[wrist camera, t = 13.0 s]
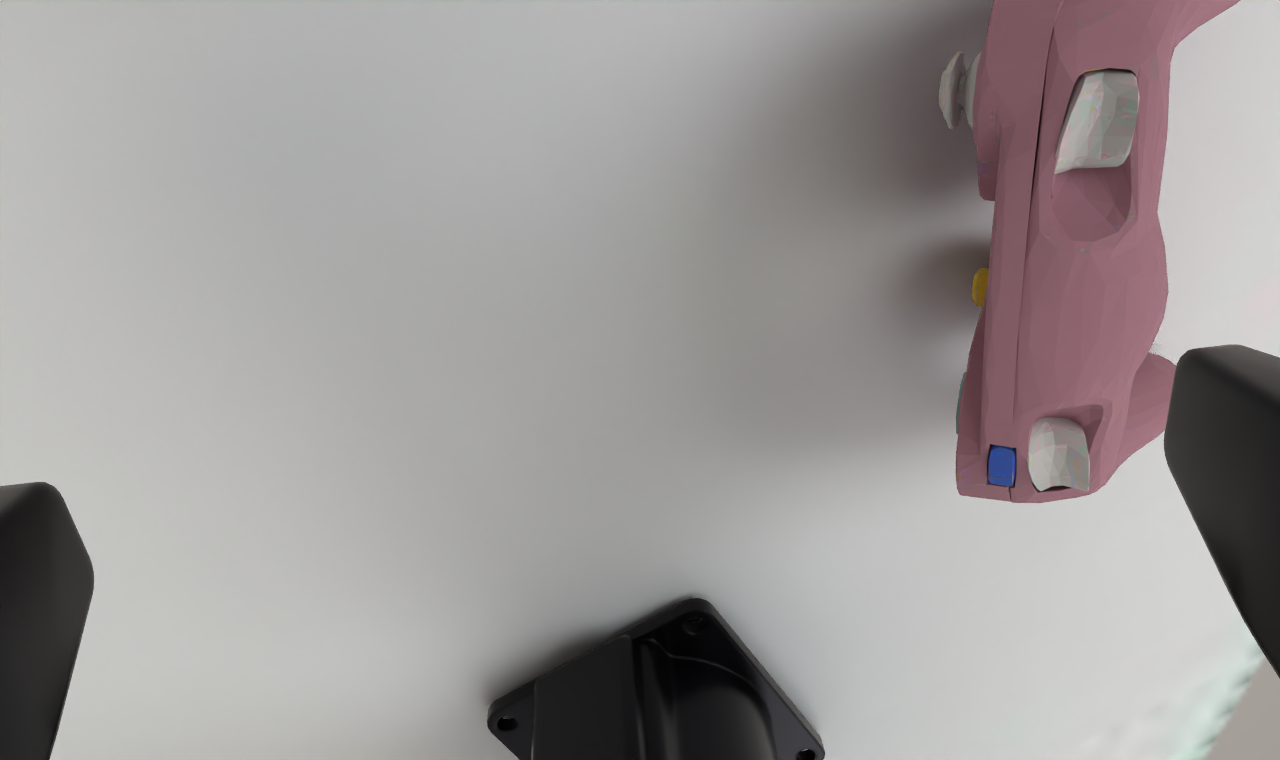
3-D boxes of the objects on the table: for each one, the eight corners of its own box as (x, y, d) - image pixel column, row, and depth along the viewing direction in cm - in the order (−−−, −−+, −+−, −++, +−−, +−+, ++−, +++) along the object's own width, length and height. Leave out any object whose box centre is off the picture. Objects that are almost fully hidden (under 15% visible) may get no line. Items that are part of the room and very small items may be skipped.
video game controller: (991, -85, 21) (914, 4, 15) (1268, -96, 19) (1291, 0, 14) (966, 371, 26) (901, 559, 20) (1183, 396, 24) (1176, 609, 19)
